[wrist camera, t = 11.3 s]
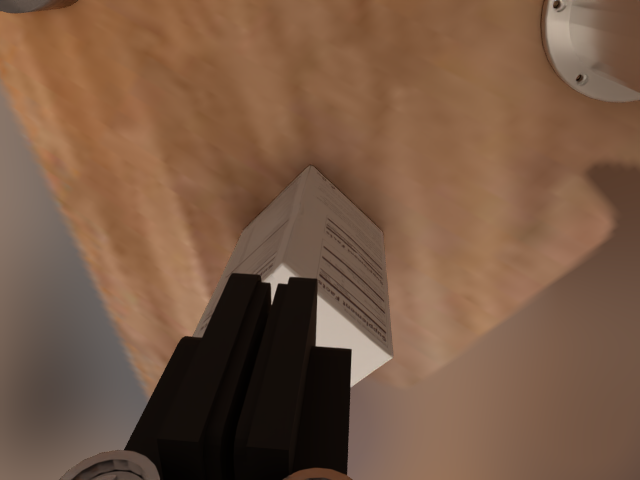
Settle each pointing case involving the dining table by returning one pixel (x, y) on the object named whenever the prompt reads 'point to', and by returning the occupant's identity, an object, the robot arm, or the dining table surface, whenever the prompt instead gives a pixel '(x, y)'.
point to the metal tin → (33, 5)
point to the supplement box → (321, 266)
